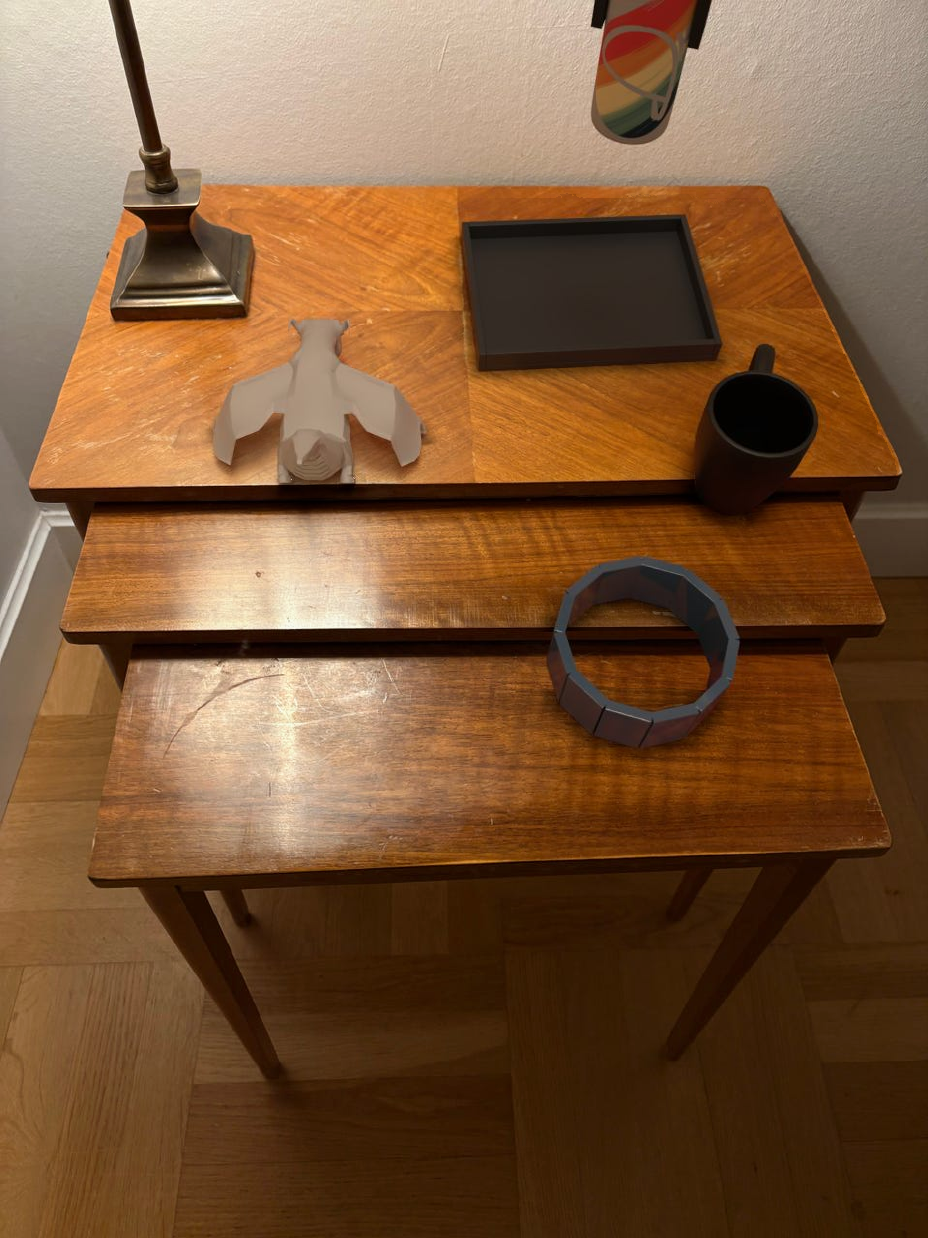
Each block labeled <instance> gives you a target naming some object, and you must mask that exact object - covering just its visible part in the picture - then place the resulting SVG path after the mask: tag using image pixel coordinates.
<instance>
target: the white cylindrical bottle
mask: <svg viewBox="0 0 928 1238" xmlns="http://www.w3.org/2000/svg"><path fill="white" fill-rule="evenodd" d="M697 4H698V0H609V1H608V7H607V13H606V19H605V22H604V24H603V31H602V39H601V43H600V49H599V50H600V51H599V56H598V61H597V68H596V74H595V79H594V80H595V81H594V85H593V93H592V99H591V106H590V107H591V108H590V119H591V123H592V125H593V126H594V128H595V130H597V132H598V133H599V134H600V135H601V136H603V137H604V138H606V139H608V140H610V141H612V142H614V143H618V144H621V145H622V144H623V145H627V146H638V145H645V144H650V143H652V142H654V141H657V140H658V139H659V138H660V137H661V136H662V135H664V133H665V132H666V130H667V128H668V125H669V123H670V119H671V116H672V112H673V109H674V105H675V100H676V98H677V97H676V96H677V93H678V89H679V84H680V82H681V81H680V80H681V77H682V73H683V69H684V65H685V60H686V56H687V52H688V48H687V45H688V41H689V37H690V33H691V29H692V25H693V21H694V17H695V12H696V8H697Z"/></svg>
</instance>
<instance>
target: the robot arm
mask: <svg viewBox="0 0 928 1238" xmlns="http://www.w3.org/2000/svg"><path fill="white" fill-rule="evenodd" d="M608 1H609V0H594V1H593V9H592V15H591V21H590V28H593V29H599V30H602V29H603V28H604V25H605V19H606V13H607V7H608ZM712 3H713V0H698V4H697V8H696V12H695V17H694V21H693V25H692V29H691V33H690V37H689V41H688V45H687V49H692V50H697V51H699V49H700V46H701V43H702V39H703V37H704V36H703V35H704V32H705V29H706V26H707V22H708V18H709V14H710V10H711V7H712Z"/></svg>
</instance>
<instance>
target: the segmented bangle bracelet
mask: <svg viewBox="0 0 928 1238" xmlns="http://www.w3.org/2000/svg"><path fill="white" fill-rule="evenodd" d="M722 598H723V596H721V595H720V594H719V593H718V592H717V591H716V590H715V589H713V588H712V587H711V586H710V585H709V584H707V583H706V582H705V581H704V580H703V579H701V578H700V577H699V576H698V575H697V574H696V573H694V572H693V571H692V570H691V569H690V568H687V567H686V566H682V565H679V564H675V563H671V562H668V561H664V560H661V559H657V558H653V557H650V556H646V555H642V557H641V555H637V556H633V557H628V558H622V559H617V560H612V561H607V562H606V561H605V562H601V563H598V565H596V564H595V565H594V566H593V567H592V568H591V569H590V570H589V571H587V572H586V573H585V574H584V575H582V576H581V577H580V578H578V580H577V581H576V582H574V583H573V584H572V585H571V586H569V588H568V589H566V590H565V593H564V594H563V596H562V600H561V604H560V607H559V611H558V614H557V618H556V621H555V625H554V629H553V632H552V636H551V639H550V640H551V641H550V643H549V647H548V651H547V655H546V663H545V665H546V668H547V671H548V676H549V678H550V682H551V685H552V688H553V692H554V694H555V698H556V701H557V702H558V703H559V706H560V707H561V708H562V709H563V710H565V712H566V713H567V714H568V715H570V716H571V717H572V718H573V719H574V721H576V722H577V723H578V724H579V725H580V726H581V727H582V728H583V729H584V730H585V731H587V733H589V734H590V735H593V736H594V737H595V738H600V739H603V740H606V741H609V742H612V743H613V742H614V743H617V744H620V745H624V746H628V747H631V748H634V749H638V748H639V749H644V748H645V749H646V748H651V747H655V746H659V745H664V744H668V743H672V742H678V741H682V740H683V739H685V738H687V736H688V735H689V734H691V733H692V731H693V730H694V729H696V728H697V727H698V726H699V725H700V724H701V723H702V722H703V720H705V719H706V718H707V717H708V716H709V715H710V714H711V713H712V712H713V711H714V709H715V707H716V706H717V705H718V703H719V702H720V700H721V699H722V697H723V696H724V694H725V693H726V692H727V690H728V689H729V687H730V686H731V684H732V682H733V679H734V676H735V671H736V665H737V660H738V654H739V649H740V643H741V641H740V639H741V637H740V636H739V632H738V631H737V628H736V626H735V623H734V621H733V618H732V616H731V613H730V611H729V608H728V606H727V604H726V601H725V599H722ZM625 599H626V600H627V599H631V600H635V601H639V602H642V603H646V604H649V605H653V606H657V607H660V608H664V609H667V610H668V611H670V613H672V614H673V615H674V616H675V617H676V618H677V619H679V620H680V621H681V622H682V623H684V624H685V625H686V626H687V627H688V628H689V629H690V630H691V631H693V632H694V633H695V634H696V635H697V638H698V641H699V644H700V646H701V649H702V651H703V653H704V656H705V659H706V661H707V664H708V666H709V672H708V678H707V684H706V689H705V691H704V692H703V694H701V695H700V696H699V698H697V699H696V700H695V701H694V702H692V703H688V704H684V705H683V704H682V705H679V706H673V707H669V708H663V709H661V710H660V709H659V710H655V711H649V710H645V709H642V708H639V707H635V706H632V705H628V704H624V703H621V702H618V701H615V700H611V699H609V698H608V697H607V696H606V695H605V694H603V692H602V691H601V690H599V689H598V688H597V687H596V686H595V685H594V684H593V683H592V682H591V681H590V680H589V679H588V678H586V677H585V676H584V675H583V674H582V673H581V672H580V671H579V670H578V668H577V665H576V662H575V658H574V655H573V652H572V650H571V646H570V643H569V641H568V637H567V634H566V631H567V629H568V628H569V627H570V626H571V625H572V624H573V623H574V622H576V620H578V619H579V618H580V617H581V616H582V615H584V614H585V613H586V612H587V611H588V610H589V609H591V608H592V607H593V606H595V605H601V604H605V603H610V602H617V601H621V600H625Z"/></svg>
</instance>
